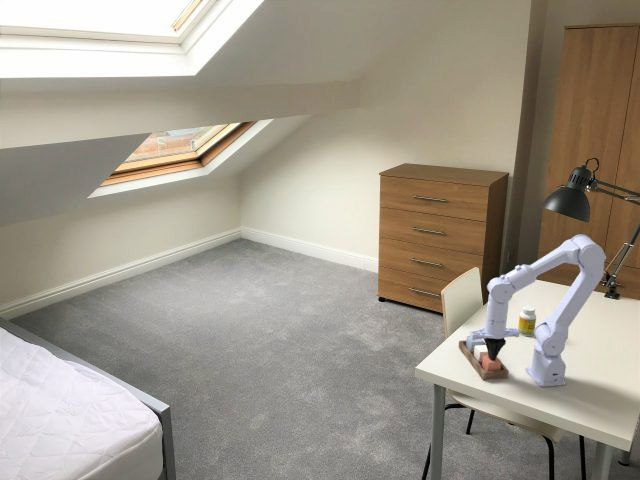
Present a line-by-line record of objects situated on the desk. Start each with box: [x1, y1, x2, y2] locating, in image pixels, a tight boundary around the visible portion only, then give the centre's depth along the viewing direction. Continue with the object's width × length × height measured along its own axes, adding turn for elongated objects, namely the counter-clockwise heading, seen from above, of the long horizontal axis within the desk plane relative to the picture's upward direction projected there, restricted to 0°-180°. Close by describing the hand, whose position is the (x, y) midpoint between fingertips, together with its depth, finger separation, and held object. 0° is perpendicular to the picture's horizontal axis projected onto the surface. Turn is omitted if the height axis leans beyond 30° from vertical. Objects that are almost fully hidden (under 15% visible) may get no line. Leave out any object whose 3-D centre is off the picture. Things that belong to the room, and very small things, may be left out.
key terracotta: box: [482, 355, 502, 371], centre depth 160 cm, size 4×4×4 cm
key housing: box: [458, 339, 510, 381], centre depth 166 cm, size 19×8×2 cm, turn 7°
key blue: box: [466, 335, 485, 350], centre depth 171 cm, size 4×4×4 cm
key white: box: [474, 345, 488, 360], centre depth 166 cm, size 4×4×4 cm
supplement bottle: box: [517, 305, 537, 337], centre depth 183 cm, size 5×5×10 cm
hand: (491, 358), depth 159 cm, fingers closed, pressing on key terracotta
